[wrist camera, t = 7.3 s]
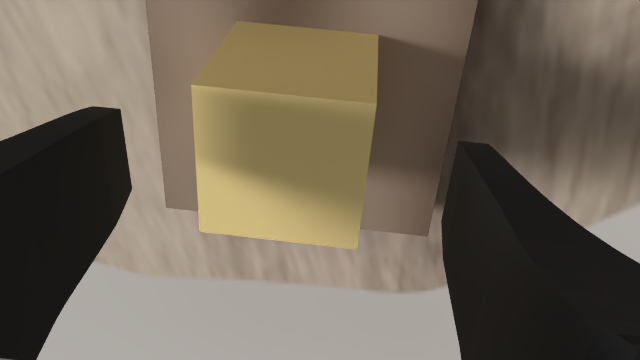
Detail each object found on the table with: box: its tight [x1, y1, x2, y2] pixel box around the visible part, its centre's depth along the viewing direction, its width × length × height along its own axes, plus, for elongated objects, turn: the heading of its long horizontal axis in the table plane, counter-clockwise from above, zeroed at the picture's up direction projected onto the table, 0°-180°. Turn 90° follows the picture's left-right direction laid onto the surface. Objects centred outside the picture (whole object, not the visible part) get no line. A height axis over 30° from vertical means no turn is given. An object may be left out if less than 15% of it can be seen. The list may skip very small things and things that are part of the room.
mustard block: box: [191, 21, 378, 249], centre depth 17 cm, size 4×4×5 cm
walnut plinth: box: [146, 0, 478, 236], centre depth 20 cm, size 10×10×2 cm
